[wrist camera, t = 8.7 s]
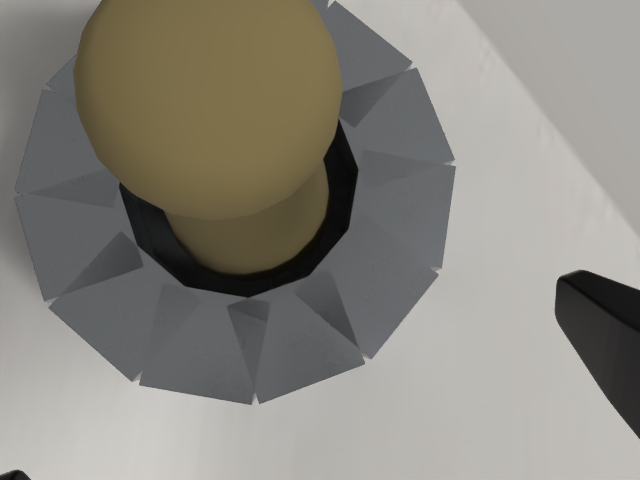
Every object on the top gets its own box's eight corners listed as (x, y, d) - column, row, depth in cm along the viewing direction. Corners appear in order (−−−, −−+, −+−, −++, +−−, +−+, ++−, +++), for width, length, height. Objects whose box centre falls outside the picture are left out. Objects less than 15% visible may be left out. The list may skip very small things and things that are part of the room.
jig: (451, 65, 22) (475, 25, 19) (400, 419, 20) (418, 434, 17) (109, 1, 22) (81, -50, 19) (16, 351, 20) (-32, 355, 17)
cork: (352, 252, 20) (423, 160, 9) (192, 303, 20) (65, 269, 9) (302, 102, 21) (312, -143, 10) (147, 147, 20) (-20, -63, 10)
